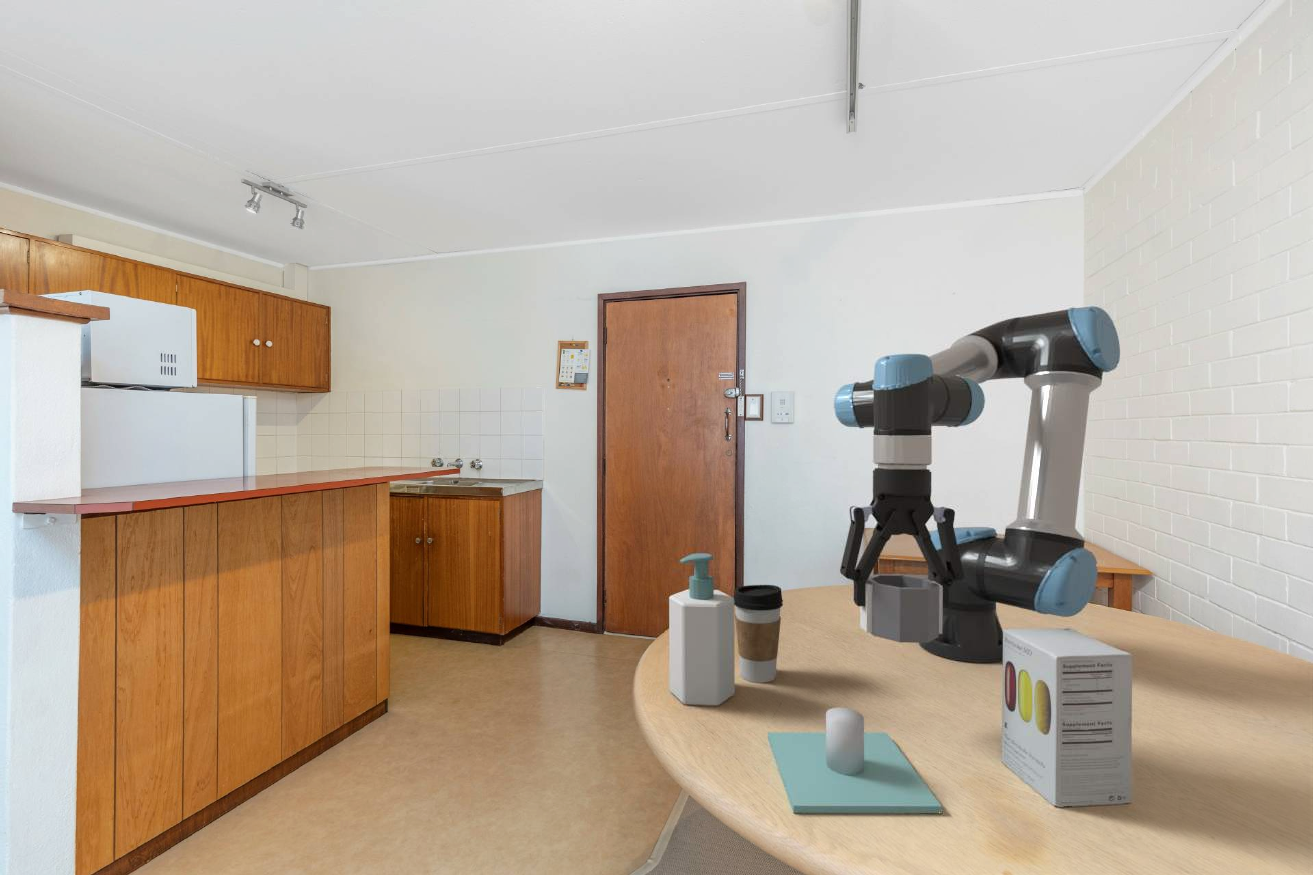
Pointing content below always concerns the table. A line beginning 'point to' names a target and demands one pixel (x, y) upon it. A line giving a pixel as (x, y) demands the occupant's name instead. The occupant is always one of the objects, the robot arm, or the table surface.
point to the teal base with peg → (848, 770)
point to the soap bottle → (701, 639)
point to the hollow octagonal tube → (904, 608)
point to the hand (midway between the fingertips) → (900, 629)
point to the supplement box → (1067, 716)
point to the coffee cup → (758, 630)
